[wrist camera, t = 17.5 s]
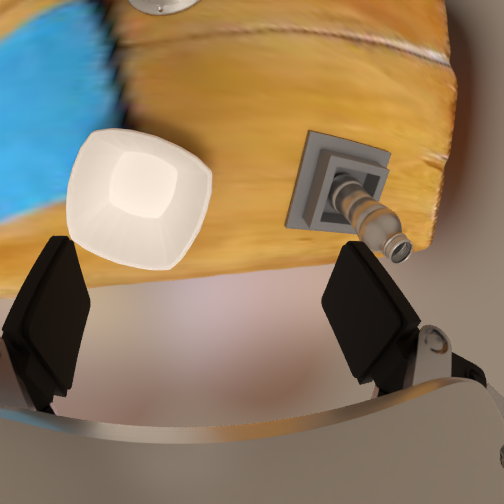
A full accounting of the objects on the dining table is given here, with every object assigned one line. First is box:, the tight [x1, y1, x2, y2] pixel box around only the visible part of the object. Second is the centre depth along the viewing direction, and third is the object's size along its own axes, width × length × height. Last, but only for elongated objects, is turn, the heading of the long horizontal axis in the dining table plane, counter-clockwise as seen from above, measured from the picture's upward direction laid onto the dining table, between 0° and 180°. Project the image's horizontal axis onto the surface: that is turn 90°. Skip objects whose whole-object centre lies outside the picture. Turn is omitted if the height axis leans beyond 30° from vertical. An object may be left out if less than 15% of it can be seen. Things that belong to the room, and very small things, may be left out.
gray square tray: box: [285, 130, 391, 234], centre depth 46 cm, size 18×17×5 cm
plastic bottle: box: [327, 174, 413, 264], centre depth 39 cm, size 6×7×20 cm
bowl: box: [66, 128, 212, 270], centre depth 38 cm, size 21×21×9 cm
